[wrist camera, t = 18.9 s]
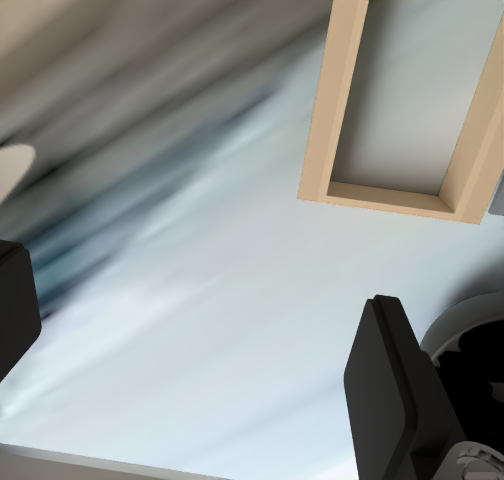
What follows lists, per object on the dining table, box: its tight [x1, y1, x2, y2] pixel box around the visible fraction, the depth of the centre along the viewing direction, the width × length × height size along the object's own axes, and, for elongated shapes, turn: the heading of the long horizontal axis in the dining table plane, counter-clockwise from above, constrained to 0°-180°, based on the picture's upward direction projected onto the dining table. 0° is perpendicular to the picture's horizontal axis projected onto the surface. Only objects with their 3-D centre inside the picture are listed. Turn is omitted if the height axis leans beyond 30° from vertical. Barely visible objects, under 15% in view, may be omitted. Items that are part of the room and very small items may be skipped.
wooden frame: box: [297, 0, 504, 225], centre depth 36 cm, size 27×19×5 cm
